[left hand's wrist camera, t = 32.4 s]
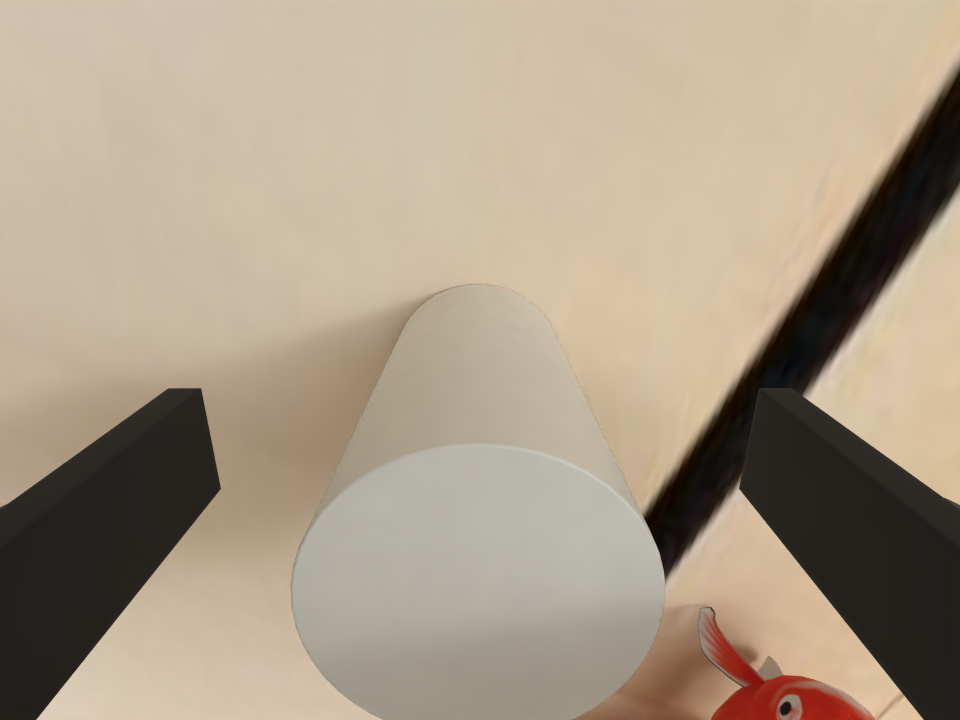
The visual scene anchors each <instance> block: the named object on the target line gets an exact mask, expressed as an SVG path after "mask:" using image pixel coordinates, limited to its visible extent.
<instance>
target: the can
mask: <svg viewBox="0 0 960 720" xmlns="http://www.w3.org/2000/svg"><path fill="white" fill-rule="evenodd" d="M664 600H665V581H664V570H663V566H662V562H661V558H660V554H659V551H658V549H657V546H656V544H655V542H654V539H653V537H652V535H651V532H650V530H649V528H648V526H647V524H646V522H645V520H644V518H643V516H642V514H641V511H640V509H639V507H638V505H637V503H636V501H635V499H634V497H633V495H632V493H631V491H630V488H629V486H628V484H627V482H626V480H625V478H624V476H623V474H622V472H621V470H620V468H619V465H618V463H617V461H616V459H615V457H614V455H613V453H612V451H611V449H610V447H609V444H608V442H607V440H606V438H605V436H604V434H603V432H602V430H601V428H600V426H599V424H598V421H597V419H596V417H595V415H594V413H593V411H592V409H591V407H590V405H589V403H588V401H587V398H586V396H585V394H584V392H583V390H582V388H581V386H580V384H579V382H578V380H577V377H576V375H575V373H574V371H573V369H572V367H571V365H570V363H569V361H568V359H567V357H566V354H565V352H564V350H563V348H562V346H561V344H560V342H559V340H558V338H557V336H556V334H555V331H554V329H553V327H552V326H551V324H550V322H549V321H548V319H547V318H546V317H545V315H544V314H543V313H542V312H541V311H540V310H539V309H538V308H537V307H536V306H535V305H534V304H533V303H532V302H530V301H529V300H527V299H526V298H525V297H523V296H521V295H519V294H517V293H515V292H513V291H511V290H508V289H505V288H502V287H498V286H493V285H485V284H470V285H463V286H457V287H454V288H451V289H448V290H445V291H443V292H441V293H439V294H437V295H435V296H433V297H432V298H430V299H429V300H427V301H426V302H425V303H423V304H422V305H421V306H420V307H419V308H418V309H417V310H416V311H415V312H414V313H413V314H412V315H411V317H410V318H409V320H408V321H407V322H406V324H405V326H404V328H403V330H402V332H401V334H400V336H399V338H398V340H397V342H396V344H395V346H394V348H393V351H392V353H391V355H390V357H389V359H388V361H387V363H386V365H385V367H384V370H383V372H382V374H381V376H380V378H379V380H378V382H377V384H376V386H375V388H374V391H373V393H372V395H371V397H370V399H369V401H368V403H367V405H366V407H365V409H364V412H363V414H362V416H361V418H360V420H359V422H358V424H357V426H356V428H355V430H354V433H353V435H352V437H351V439H350V441H349V443H348V445H347V447H346V449H345V452H344V454H343V456H342V458H341V460H340V462H339V464H338V466H337V468H336V470H335V473H334V475H333V477H332V479H331V481H330V483H329V485H328V487H327V489H326V491H325V494H324V496H323V498H322V500H321V502H320V504H319V506H318V508H317V510H316V512H315V515H314V517H313V519H312V521H311V523H310V525H309V527H308V529H307V531H306V533H305V536H304V538H303V540H302V542H301V544H300V546H299V549H298V552H297V556H296V559H295V562H294V566H293V573H292V581H291V602H292V610H293V615H294V620H295V625H296V628H297V631H298V633H299V636H300V639H301V641H302V644H303V646H304V647H305V649H306V651H307V653H308V655H309V656H310V658H311V660H312V662H313V663H314V664H315V665H316V667H317V668H318V669H319V671H320V672H321V673H322V675H323V676H324V677H325V678H326V679H327V680H328V681H329V682H330V683H331V684H332V685H333V686H334V687H335V688H336V689H337V690H338V691H339V692H340V693H342V694H343V695H344V696H345V697H347V698H348V699H349V700H350V701H352V702H353V703H354V704H356V705H358V706H359V707H361V708H362V709H364V710H366V711H367V712H369V713H371V714H372V715H374V716H376V717H379V718H381V719H383V720H573V719H575V718H577V717H579V716H581V715H583V714H584V713H586V712H588V711H590V710H591V709H593V708H595V707H597V706H598V705H599V704H601V703H602V702H603V701H605V700H606V699H608V698H609V697H610V696H612V695H613V694H614V693H615V692H616V691H617V690H618V689H619V688H620V687H622V686H623V685H624V684H625V683H626V682H627V681H628V680H629V679H630V677H631V676H632V675H633V674H634V673H635V671H636V670H637V669H638V668H639V667H640V665H641V664H642V662H643V661H644V659H645V657H646V656H647V654H648V652H649V651H650V649H651V647H652V645H653V642H654V640H655V638H656V636H657V633H658V631H659V627H660V623H661V619H662V615H663V610H664Z"/></svg>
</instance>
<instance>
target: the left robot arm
mask: <svg viewBox="0 0 960 720" xmlns="http://www.w3.org/2000/svg"><path fill="white" fill-rule="evenodd" d="M220 489H221V487H220V482H219V477H218V472H217V467H216V462H215V457H214V451H213V446H212V441H211V436H210V431H209V426H208V421H207V416H206V411H205V406H204V401H203V396H202V391H201V388H168V389H167V390H166V391H164V392H163V393H161V394H160V395H159V396H157V397H156V398H155V399H153V400H152V401H150V402H149V403H148V404H146V405H145V406H143V407H142V408H141V409H139V410H138V411H136V412H135V413H134V414H132V415H131V416H129V417H128V418H127V419H125V420H124V421H123V422H121V423H120V424H118V425H117V426H116V427H114V428H113V429H111V430H110V431H109V432H107V433H106V434H104V435H103V436H102V437H100V438H99V439H98V440H96V441H95V442H93V443H92V444H91V445H89V446H88V447H86V448H85V449H84V450H82V451H81V452H79V453H78V454H77V455H75V456H74V457H72V458H71V459H70V460H68V461H67V462H66V463H64V464H63V465H61V466H60V467H59V468H57V469H56V470H54V471H53V472H52V473H50V474H49V475H47V476H46V477H45V478H43V479H42V480H41V481H39V482H38V483H36V484H35V485H34V486H32V487H31V488H29V489H28V490H27V491H25V492H24V493H22V494H21V495H20V496H18V497H17V498H15V499H14V500H13V501H11V502H10V503H8V504H6V505H4V506H2V507H0V720H36V719H37V718H38V717H39V716H40V714H41V713H42V712H43V711H44V709H45V708H46V707H47V706H48V704H49V703H50V702H51V701H52V699H53V698H54V697H55V696H56V694H57V693H58V692H59V691H60V689H61V688H62V687H63V686H64V684H65V683H66V682H67V681H68V679H69V678H70V677H71V676H72V674H73V673H74V672H75V671H76V669H77V668H78V667H79V666H80V664H81V663H82V662H83V661H84V659H85V658H86V657H87V656H88V654H89V653H90V652H91V651H92V649H93V648H94V647H95V646H96V644H97V643H98V642H99V641H100V639H101V638H102V637H103V636H104V634H105V633H106V632H107V631H108V629H109V628H110V627H111V626H112V624H113V623H114V622H115V621H116V619H117V618H118V617H119V616H120V614H121V613H122V612H123V610H124V609H125V608H126V607H127V605H128V604H129V603H130V602H131V600H132V599H133V598H134V597H135V595H136V594H137V593H138V592H139V590H140V589H141V588H142V587H143V585H144V584H145V583H146V582H147V580H148V579H149V578H150V577H151V575H152V574H153V573H154V572H155V570H156V569H157V568H158V567H159V565H160V564H161V563H162V562H163V560H164V559H165V558H166V557H167V555H168V554H169V553H170V552H171V550H172V549H173V548H174V547H175V545H176V544H177V543H178V542H179V540H180V539H181V538H182V537H183V535H184V534H185V533H186V532H187V530H188V529H189V528H190V527H191V525H192V524H193V523H194V522H195V520H196V519H197V518H198V517H199V515H200V514H201V513H202V512H203V510H204V509H205V508H206V507H207V505H208V504H209V503H210V502H211V500H212V499H213V498H214V497H215V495H216V494H217V493H218V492H219V490H220ZM739 489H740V490H741V492H742V493H743V494H744V495H745V497H746V498H747V499H748V500H749V502H750V503H751V504H752V505H753V507H754V508H755V509H756V510H757V512H758V513H759V514H760V515H761V517H762V518H763V519H764V520H765V522H766V523H767V524H768V525H769V527H770V528H771V529H772V530H773V532H774V533H775V534H776V535H777V537H778V538H779V539H780V540H781V542H782V543H783V544H784V545H785V547H786V548H787V549H788V550H789V552H790V553H791V554H792V555H793V557H794V558H795V559H796V560H797V562H798V563H799V564H800V565H801V567H802V568H803V569H804V570H805V572H806V573H807V574H808V575H809V577H810V578H811V579H812V580H813V582H814V583H815V584H816V585H817V587H818V588H819V589H820V590H821V592H822V593H823V594H824V595H825V597H826V598H827V599H828V600H829V602H830V603H831V604H832V605H833V607H834V608H835V609H836V610H837V612H838V613H839V614H840V616H841V617H842V618H843V619H844V621H845V622H846V623H847V624H848V626H849V627H850V628H851V629H852V631H853V632H854V633H855V634H856V636H857V637H858V638H859V639H860V641H861V642H862V643H863V644H864V646H865V647H866V648H867V649H868V651H869V652H870V653H871V654H872V656H873V657H874V658H875V659H876V661H877V662H878V663H879V664H880V666H881V667H882V668H883V669H884V671H885V672H886V673H887V674H888V676H889V677H890V678H891V679H892V681H893V682H894V683H895V684H896V686H897V687H898V688H899V689H900V691H901V692H902V693H903V694H904V696H905V697H906V698H907V699H908V701H909V702H910V703H911V704H912V706H913V707H914V708H915V709H916V711H917V712H918V713H919V714H920V716H921V717H922V718H923V719H924V720H960V505H959V504H956V503H954V502H952V501H950V500H948V499H946V498H943V497H942V496H940V495H939V494H938V493H936V492H935V491H933V490H932V489H931V488H929V487H928V486H926V485H925V484H924V483H922V482H921V481H919V480H918V479H917V478H915V477H914V476H913V475H911V474H910V473H908V472H907V471H906V470H904V469H903V468H901V467H900V466H899V465H897V464H896V463H894V462H893V461H892V460H890V459H889V458H888V457H886V456H885V455H883V454H882V453H881V452H879V451H878V450H876V449H875V448H874V447H872V446H871V445H869V444H868V443H867V442H865V441H864V440H862V439H861V438H860V437H858V436H857V435H856V434H854V433H853V432H851V431H850V430H849V429H847V428H846V427H844V426H843V425H842V424H840V423H839V422H837V421H836V420H835V419H833V418H832V417H831V416H829V415H828V414H826V413H825V412H824V411H822V410H821V409H819V408H818V407H817V406H815V405H814V404H812V403H811V402H810V401H808V400H807V399H805V398H804V397H803V396H801V395H800V394H799V393H797V392H796V391H794V390H793V389H792V388H759V391H758V396H757V401H756V406H755V411H754V416H753V421H752V426H751V431H750V436H749V441H748V446H747V451H746V457H745V462H744V467H743V472H742V477H741V482H740V487H739Z"/></svg>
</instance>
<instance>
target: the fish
mask: <svg viewBox="0 0 960 720" xmlns="http://www.w3.org/2000/svg"><path fill="white" fill-rule="evenodd" d="M698 631H699V639H700V645H701V648H702V651H703V653H704V655H705V656H706V657H707V658H708V659H709V660H710V661H711V662H712V663H713V664H714V665H715V666H716V667H717V668H718V669H720V670H721V671H722V672H723V673H724V674H725V675H727V676H728V677H729V678H730V679H732V680H733V681H735V682H736V683H737V684H739V685H740V686H742V687H743V688H741V689H739V690H737V691H736V692H735V693H734V694H732V695H731V696H730V697H729V698H728V699H727V700H726V701H725V702H724V703H723V704H722V705H721V706H720V707H719V708H718V709H717V711H716V712H715V713H714V715H713V716H712V719H711V720H875V719H874V717H873V716H872V715H871V713H870V712H869V711H868V710H867V709H866V708H865V707H863V706H862V705H861V704H860V703H859V702H857V701H856V700H855V699H854V698H853V697H851V696H850V695H848V694H846V693H845V692H843V691H841V690H839V689H836V688H834V687H832V686H829V685H827V684H825V683H822V682H819V681H817V680H814V679H810V678H806V677H802V676H788V675H783V674H782V672H781V670H780V668H779V666H778V665H777V663H776V662H775V661H774V660H773V659H772V658H771V657H770V656H768V657H767V659H766V660H765V662H764V664H763V665H762V667H761V668H760V670H759V671H758V672H756V671H755V670H754V669H753V668H752V667H751V666H750V665H749V664H748V663H747V662H746V661H745V660H744V659H743V658H742V657H741V655H740V654H739V653H738V652H737V650H736V649H735V648H734V647H733V646H732V645H731V644H730V642H729V641H728V640H727V639H726V638H725V637H724V635H723V634H722V632H721V631H720V629H719V628H718V626H717V624H716V621H715V612H714V610H713V609H712V607H704V608H700V613H699V620H698Z"/></svg>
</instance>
